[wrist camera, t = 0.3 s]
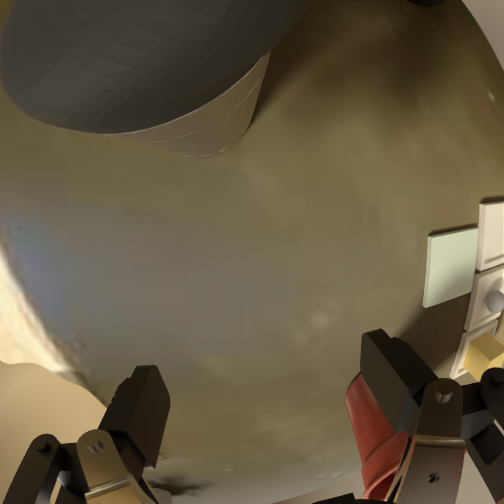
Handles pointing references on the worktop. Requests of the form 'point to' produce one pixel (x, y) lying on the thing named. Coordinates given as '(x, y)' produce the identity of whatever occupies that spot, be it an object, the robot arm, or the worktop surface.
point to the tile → (450, 265)
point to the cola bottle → (428, 2)
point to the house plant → (163, 495)
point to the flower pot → (374, 440)
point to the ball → (495, 301)
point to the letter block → (483, 355)
